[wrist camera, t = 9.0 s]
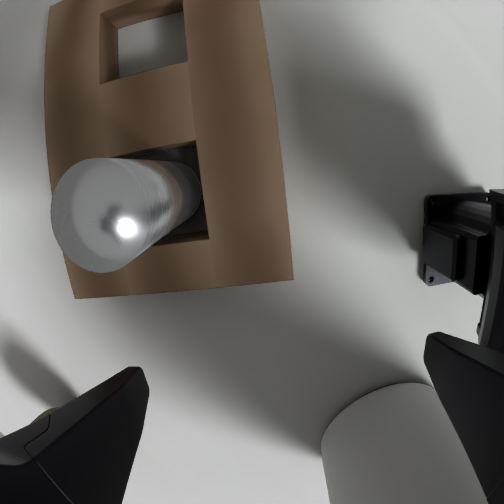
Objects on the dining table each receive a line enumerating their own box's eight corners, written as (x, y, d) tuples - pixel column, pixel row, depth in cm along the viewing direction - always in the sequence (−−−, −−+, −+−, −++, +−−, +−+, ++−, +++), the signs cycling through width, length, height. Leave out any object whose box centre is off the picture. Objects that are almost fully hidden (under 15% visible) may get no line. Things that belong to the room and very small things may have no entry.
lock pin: (196, 156, 19) (138, 146, 9) (205, 219, 20) (157, 267, 10) (137, 167, 19) (44, 172, 9) (146, 227, 20) (63, 276, 10)
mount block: (250, -28, 15) (249, -51, 12) (288, 264, 20) (293, 279, 18) (69, 19, 16) (50, 6, 13) (94, 283, 21) (75, 299, 18)
